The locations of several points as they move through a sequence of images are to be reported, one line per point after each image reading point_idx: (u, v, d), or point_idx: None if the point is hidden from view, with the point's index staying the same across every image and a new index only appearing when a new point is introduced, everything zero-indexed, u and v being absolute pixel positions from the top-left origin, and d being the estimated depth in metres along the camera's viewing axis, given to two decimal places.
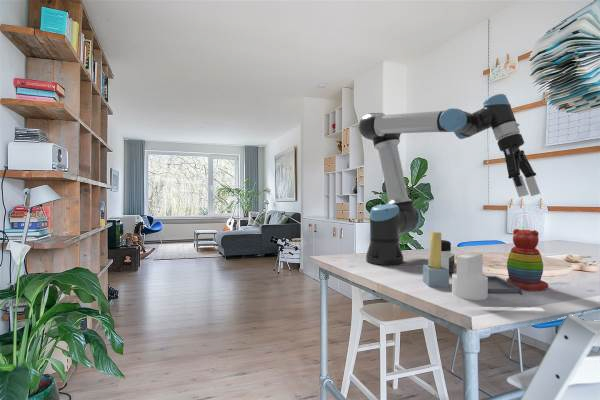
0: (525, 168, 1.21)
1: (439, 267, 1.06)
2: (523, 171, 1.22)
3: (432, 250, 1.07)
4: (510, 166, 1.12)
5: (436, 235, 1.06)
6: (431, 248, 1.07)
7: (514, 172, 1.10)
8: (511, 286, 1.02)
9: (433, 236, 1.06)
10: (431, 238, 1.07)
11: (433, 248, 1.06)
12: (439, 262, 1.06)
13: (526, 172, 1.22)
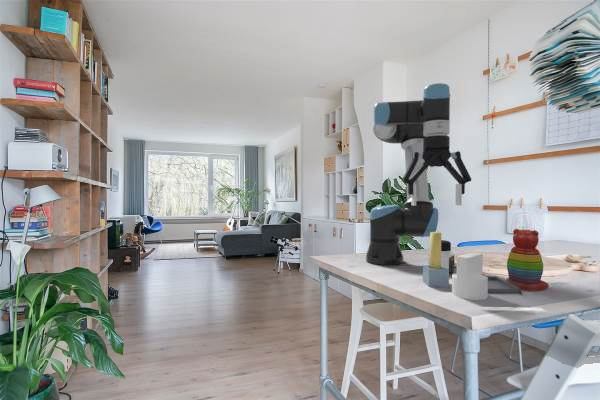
0: (452, 173, 1.06)
1: (439, 267, 1.06)
2: (453, 176, 1.07)
3: (432, 250, 1.07)
4: (406, 172, 1.07)
5: (436, 235, 1.06)
6: (431, 248, 1.07)
7: (403, 180, 1.06)
8: (511, 286, 1.02)
9: (433, 236, 1.06)
10: (431, 238, 1.07)
11: (433, 248, 1.06)
12: (439, 262, 1.06)
13: (455, 178, 1.06)
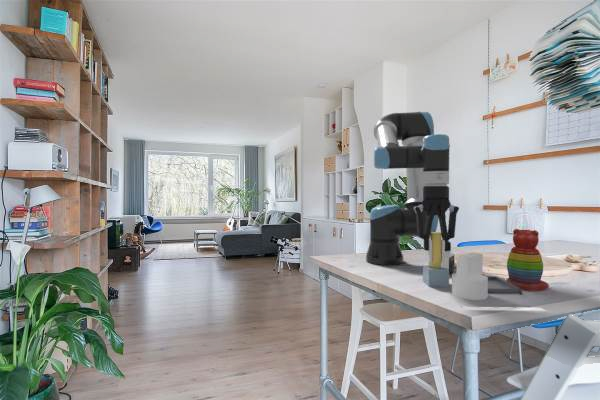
0: (441, 226, 1.07)
1: (439, 267, 1.06)
2: (440, 229, 1.08)
3: (432, 250, 1.07)
4: (417, 228, 1.08)
5: (436, 235, 1.06)
6: None
7: (419, 237, 1.07)
8: (511, 286, 1.02)
9: (433, 236, 1.06)
10: (431, 238, 1.07)
11: (433, 248, 1.06)
12: (439, 262, 1.06)
13: (442, 231, 1.07)
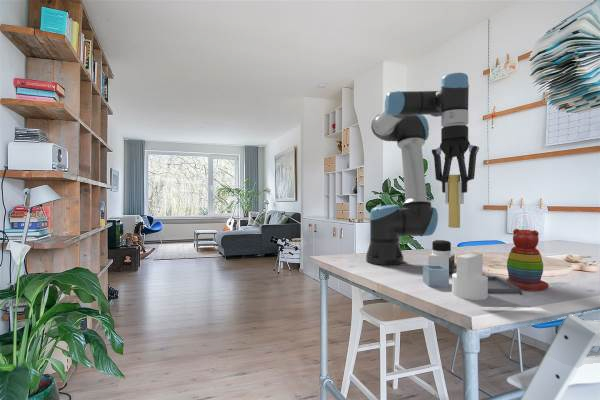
0: None
1: (455, 209, 1.04)
2: None
3: None
4: None
5: (451, 177, 1.04)
6: None
7: None
8: (511, 286, 1.02)
9: (449, 177, 1.05)
10: None
11: (449, 190, 1.05)
12: (455, 204, 1.04)
13: None
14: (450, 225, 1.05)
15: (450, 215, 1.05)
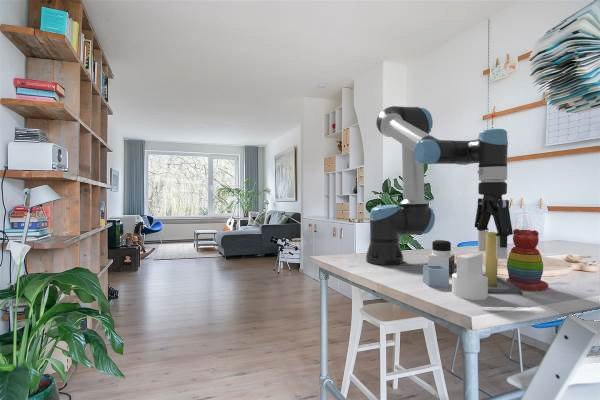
0: None
1: (487, 267, 1.04)
2: None
3: None
4: None
5: None
6: None
7: None
8: (511, 286, 1.02)
9: None
10: None
11: None
12: (487, 262, 1.04)
13: None
14: None
15: (485, 272, 1.06)
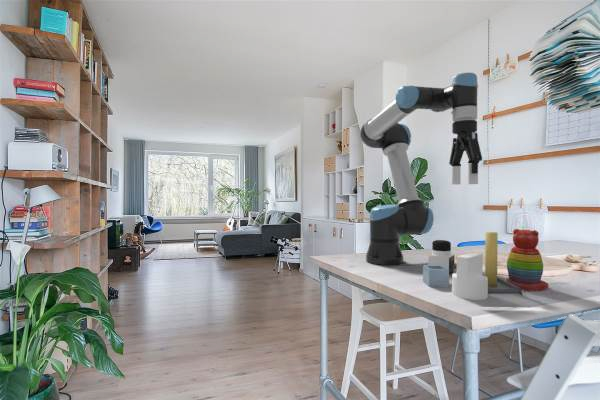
0: None
1: (487, 267, 1.04)
2: None
3: None
4: None
5: None
6: None
7: None
8: (511, 286, 1.02)
9: None
10: None
11: None
12: (487, 262, 1.04)
13: None
14: None
15: (485, 272, 1.06)
